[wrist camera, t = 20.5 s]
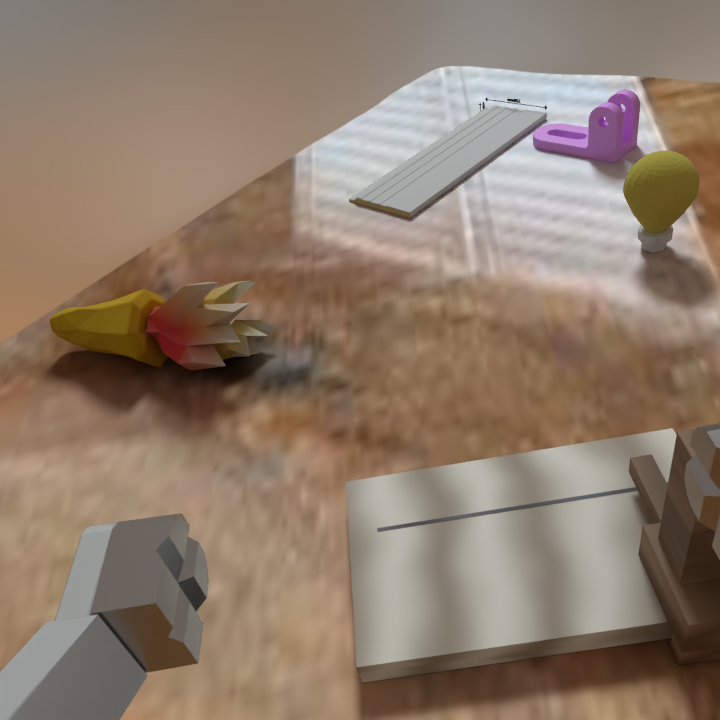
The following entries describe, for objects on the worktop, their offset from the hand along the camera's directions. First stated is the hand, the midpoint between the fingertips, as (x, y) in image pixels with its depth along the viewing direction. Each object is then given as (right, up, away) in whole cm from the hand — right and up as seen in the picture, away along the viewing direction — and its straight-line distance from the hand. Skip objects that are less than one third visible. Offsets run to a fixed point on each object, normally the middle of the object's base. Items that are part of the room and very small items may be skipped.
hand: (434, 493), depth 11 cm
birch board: (+10, -11, +35) cm, 38 cm away
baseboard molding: (+11, +30, +84) cm, 89 cm away
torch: (-21, +3, +60) cm, 64 cm away
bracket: (+28, +30, +79) cm, 89 cm away
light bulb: (+29, +14, +59) cm, 67 cm away
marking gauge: (+18, -11, +32) cm, 38 cm away
